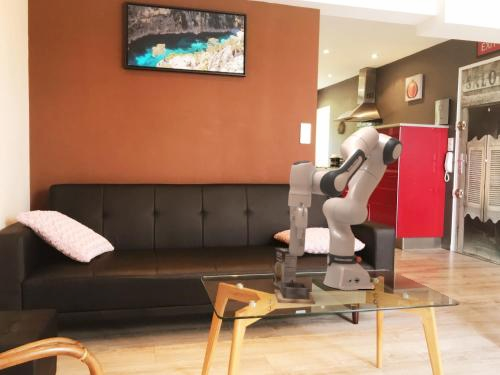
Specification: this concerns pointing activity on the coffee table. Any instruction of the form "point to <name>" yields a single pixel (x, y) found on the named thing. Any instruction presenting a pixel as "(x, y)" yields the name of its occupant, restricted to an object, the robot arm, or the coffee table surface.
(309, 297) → the can stand
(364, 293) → the coffee table surface
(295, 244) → the energy drink can
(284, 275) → the coffee box
